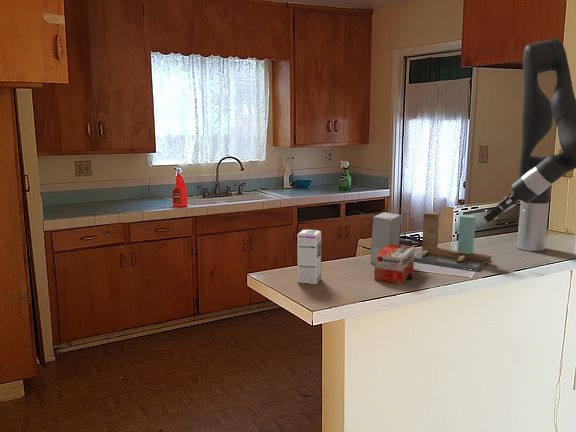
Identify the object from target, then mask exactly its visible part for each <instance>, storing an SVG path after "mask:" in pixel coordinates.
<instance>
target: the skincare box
mask: <svg viewBox="0 0 576 432" xmlns="http://www.w3.org/2000/svg"><path fill="white" fill-rule="evenodd" d="M401 222H402V215H401V214H398V213H397V214H396V213H392V212H385V211H384V212H381V213H379V214H377V215H374V216H373V217H372V231H371V244H370V245H371V247H370V261H369V263H370V264H373V265H375V258H376V254H377V253H378V252H379V251H381V250H382V249H383V248H385V247H386V246H388V245H389V244H395V245H400V235H401Z"/></svg>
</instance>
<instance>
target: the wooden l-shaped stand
mask: <svg viewBox="0 0 576 432" xmlns="http://www.w3.org/2000/svg"><path fill="white" fill-rule="evenodd" d="M439 224H440V213H439V212H432V211H426V212H424V213H423V224H422V242H421V243H422V244H421V249H422V251H421V252H422V253H421V255H422V256H424V255H426V254H428V253H430V254H437V255H444V256H451V257H458V258H459V257H460V256H462V255H464V256H465V258H464V259H471V260H478V261H485V262H487V263H490V262H491V261H492V258H493V257H492V255H489V254H484V253H483V254H482V253H476V252H472V253H471V254H465V253H458V250H454V249H448V248H439V247H438V243H439V242H438V239H439Z"/></svg>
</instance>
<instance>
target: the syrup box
mask: <svg viewBox="0 0 576 432" xmlns="http://www.w3.org/2000/svg"><path fill="white" fill-rule="evenodd" d="M296 236H297V237H296V238H297V249H296V251H297V258H296V259H297V260H296V261H297V283H299V284H305V283H308V284H307V285H317V284H318V283H319V282H320V280H321V279H322V230H318V229H302V230H301V231H300V232H298V233H297V235H296Z"/></svg>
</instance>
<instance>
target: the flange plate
mask: <svg viewBox="0 0 576 432" xmlns="http://www.w3.org/2000/svg"><path fill="white" fill-rule="evenodd" d="M421 253H422V251H420V252H418V253H416V254H414V262H417V263H422V264H428V263H429V264H430V265H435V266H441V265H442V266H443V267H447V266H451V267H450V268H454V267H457V268H456V269H460V268H465V269H464V270H466V269H472V270H471V271H473V270H475V272H478V271H479V270H480V269H481V268H483V266H485V265H486V264H487V263H488V262H485V261H478V260H471V259H463V260H462V261H458V257H451V256H444V255H437V254H430V253H428V254H426V255H424V256H422V255H421ZM485 263H486V264H485ZM484 264H485V265H484Z"/></svg>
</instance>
